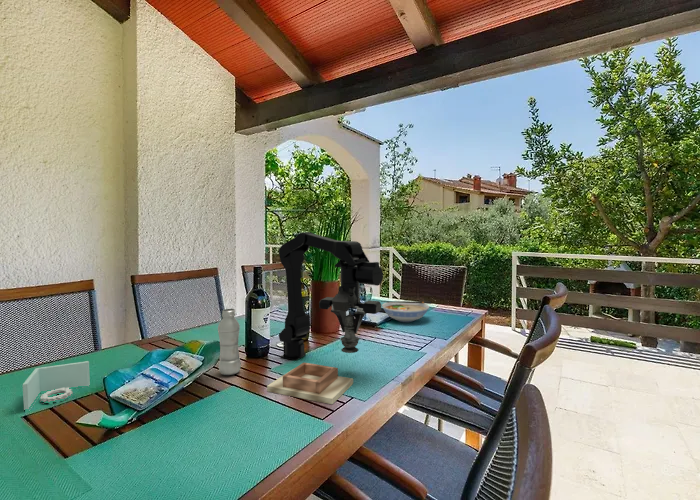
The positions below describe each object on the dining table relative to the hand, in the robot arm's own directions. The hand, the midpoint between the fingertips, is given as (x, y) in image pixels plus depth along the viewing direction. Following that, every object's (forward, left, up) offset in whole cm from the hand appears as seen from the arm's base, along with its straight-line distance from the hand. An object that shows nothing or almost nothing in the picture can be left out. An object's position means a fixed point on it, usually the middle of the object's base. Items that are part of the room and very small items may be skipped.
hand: (349, 332), depth 118 cm
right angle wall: (-65, -46, -14) cm, 81 cm away
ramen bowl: (-1, +71, -13) cm, 72 cm away
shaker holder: (-6, -14, -13) cm, 20 cm away
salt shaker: (0, 0, -6) cm, 6 cm away
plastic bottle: (-34, -15, -13) cm, 39 cm away
